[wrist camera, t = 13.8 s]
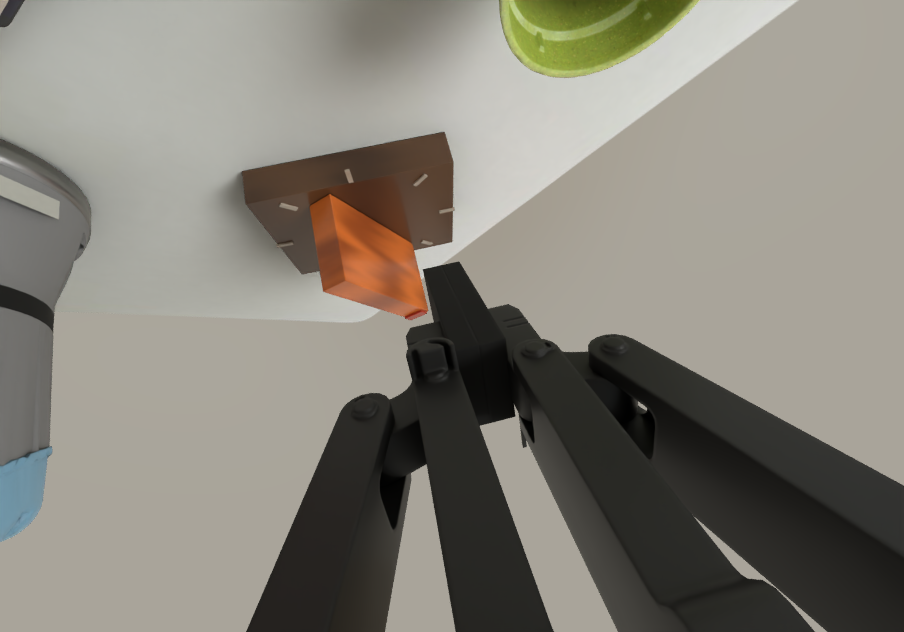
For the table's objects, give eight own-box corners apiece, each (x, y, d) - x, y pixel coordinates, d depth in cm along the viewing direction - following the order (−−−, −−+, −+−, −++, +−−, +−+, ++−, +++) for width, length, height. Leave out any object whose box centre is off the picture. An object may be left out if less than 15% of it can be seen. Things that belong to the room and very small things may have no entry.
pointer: (308, 205, 34) (323, 294, 32) (329, 193, 33) (346, 283, 31) (394, 252, 44) (410, 321, 42) (412, 243, 44) (429, 313, 41)
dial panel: (302, 256, 47) (306, 282, 46) (230, 157, 31) (233, 193, 30) (446, 225, 48) (453, 250, 47) (445, 115, 33) (455, 149, 32)
